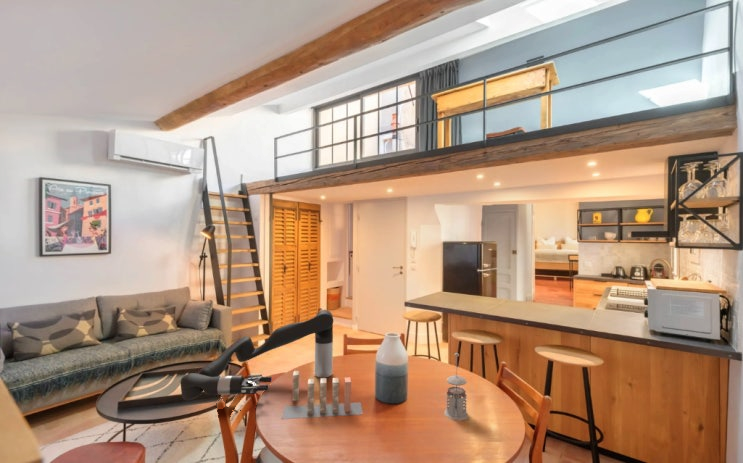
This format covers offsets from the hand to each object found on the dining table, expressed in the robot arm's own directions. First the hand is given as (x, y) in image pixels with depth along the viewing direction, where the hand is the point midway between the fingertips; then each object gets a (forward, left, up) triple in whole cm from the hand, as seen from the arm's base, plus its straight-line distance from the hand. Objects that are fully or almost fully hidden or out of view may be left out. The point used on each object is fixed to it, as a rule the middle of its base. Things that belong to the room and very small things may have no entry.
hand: (269, 383), depth 149 cm
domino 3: (+11, +23, -7) cm, 27 cm away
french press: (+19, +77, -9) cm, 80 cm away
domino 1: (-1, +11, -8) cm, 14 cm away
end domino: (+11, +33, -7) cm, 36 cm away
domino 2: (+11, +18, -7) cm, 23 cm away
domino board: (+11, +23, -8) cm, 27 cm away
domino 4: (+11, +28, -7) cm, 31 cm away
